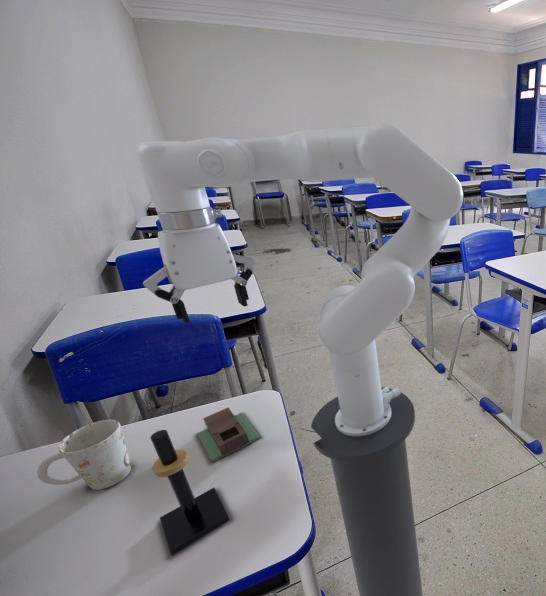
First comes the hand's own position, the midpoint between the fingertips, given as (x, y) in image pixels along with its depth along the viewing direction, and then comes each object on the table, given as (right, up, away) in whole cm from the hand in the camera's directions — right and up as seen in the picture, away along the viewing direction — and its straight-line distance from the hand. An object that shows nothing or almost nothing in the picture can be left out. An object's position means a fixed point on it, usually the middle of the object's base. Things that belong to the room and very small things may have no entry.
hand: (215, 312), depth 70 cm
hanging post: (+2, -34, -8) cm, 35 cm away
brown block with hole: (-4, -26, +9) cm, 28 cm away
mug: (-22, -32, 0) cm, 39 cm away
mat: (-3, -27, +10) cm, 29 cm away
